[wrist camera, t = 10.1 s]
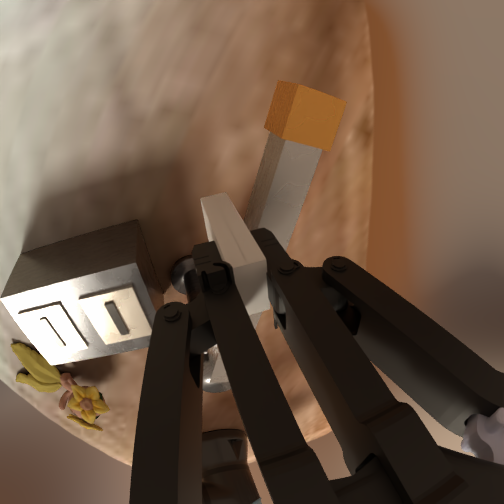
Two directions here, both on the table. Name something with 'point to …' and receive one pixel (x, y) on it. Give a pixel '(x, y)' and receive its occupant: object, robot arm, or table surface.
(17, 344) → the figurine
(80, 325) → the block
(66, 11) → the table surface
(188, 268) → the post
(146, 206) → the table surface
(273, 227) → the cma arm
